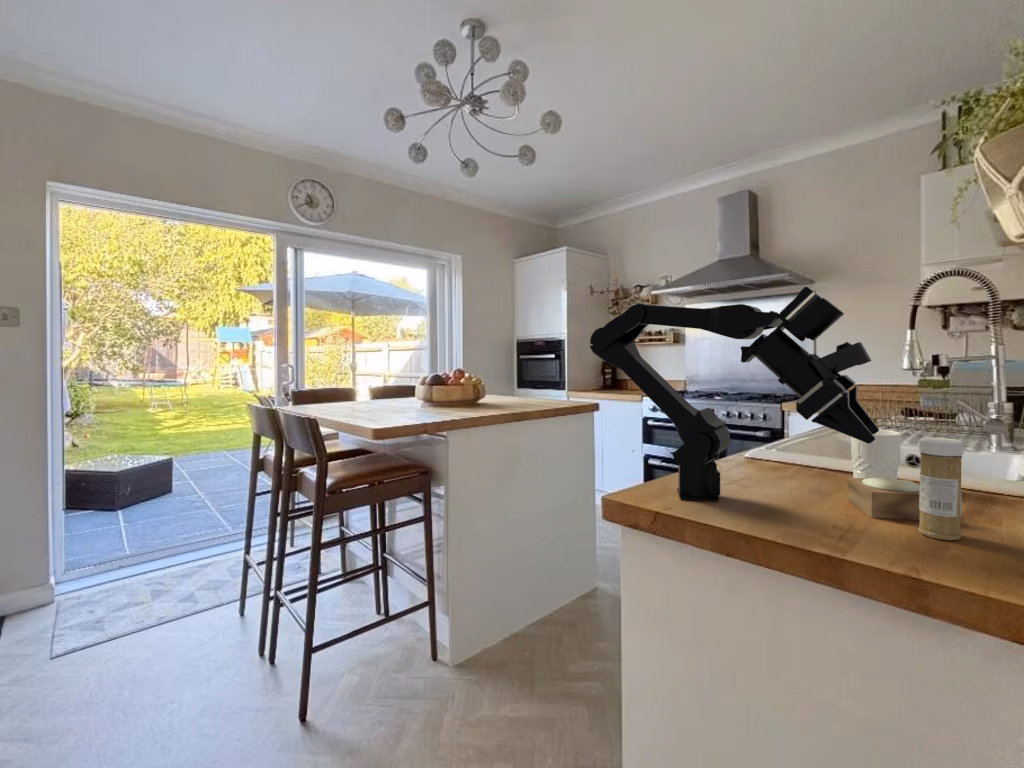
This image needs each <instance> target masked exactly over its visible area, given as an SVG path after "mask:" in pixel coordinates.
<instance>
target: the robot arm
mask: <svg viewBox="0 0 1024 768" xmlns="http://www.w3.org/2000/svg"><path fill="white" fill-rule="evenodd" d="M844 315H845V313H844V312H843V311H842V310H841V309H839V308H838V307H837V306H836V305H835V304H833V303H832V302H831V301H829V300H828V299H826V298H824V297H821V295H819V294H818V293H817V292H815V291H814V290H812V289H811V288H810V287H808V286H803V288H802V289H801V290H800V291H799V292H798V293H797V295H796V296H795V297H794V299H792V300H791V301H790V302H789V303H787V305H786V306H785V307H784V308H783V309H782V310H781V311H780V312H777V311H774V310H770V311H769V312H768V311H767V312H766V311H762V309H761V308H758V307H757V306H752V305H750V304H749V305H748V304H743V303H738V304H728V305H720V306H714V307H706V308H697V307H684V306H683V307H682V306H669V305H668V306H667V305H655V304H654V305H653V304H647V303H642V302H637V303H633V304H632V305H630V306H629V307H628V308H627V309H626V310H625V311H624V312H623V313H621V314H619V315H617V316H616V317H615V318H613V319H612V320H610V321H608V322H607V323H606V324H605V325H604V326H603V327H599V328H597V329H595V330H594V331H593V332H592V334H591V335H590V340H589V348H590V350H591V352H592V353H593V354H594V355H595V356H597V357H598V358H599V359H601V360H602V361H604V362H605V363H608V364H609V365H611V366H613V367H615V368H617V369H619V370H620V371H621V372H623V373H624V374H625V375H626V376H627V377H628V379H630V380H631V381H632V383H634V384H635V385H636V386H637V387H638V388H639V389H640V390H641V391H642V393H644V394H645V396H647V397H648V398H649V400H650V401H651V402H653V403H654V405H655V406H656V407H658V409H659V410H661V412H663V414H665V416H666V417H667V418H668V419H669V420H671V422H672V424H673V425H674V427H675V429H676V432H677V434H678V437H679V439H680V440H681V441H682V445H681V446H679V448H677V449H676V450H674V452H673V453H672V457H673V459H674V462H675V465H676V466H677V467H678V471H677V472H678V481H677V482H678V487H677V488H676V489H677V490H676V491H677V495H678V497H679V500H682V501H683V500H686V501H704V502H705V501H706V502H719V501H720V498H719V496H721V473H720V471H719V469H718V468H717V467H718V466H717V465H718V464H717V462H715V461H717V460H718V459H719V456H720V454H721V452H724V451H725V450H726V449H727V448H728V447H729V445H730V443H731V433H730V430H728V428H727V426H725V425H727V421H725V420H722V419H720V418H719V417H718V416H717V414H716V413H715V411H714V410H713V409H712V408H710V407H706V408H703V409H697V408H696V407H695V406H692V405H691V404H690V403H689V401H687V400H686V398H684V397H683V395H681V394H680V393H679V392H678V391H677V390H676V389H675V388H674V387H673V386H672V385H671V384H670V383H669V382H668V381H667V380H666V379H665V378H664V377H663V376H661V374H659V372H657V371H656V370H655V369H654V368H653V367H652V366H651V364H649V363H648V361H646V360H645V359H644V357H642V356H641V354H640V352H639V350H638V347H637V345H636V342H635V340H636V339H638V338H639V336H640V335H641V334H642V333H643V331H644V330H645V329H646V327H648V326H649V325H655V326H666V327H677V328H687V329H697V330H698V329H699V330H702V331H706V332H710V333H713V334H715V335H716V334H717V335H720V336H723V337H727V338H730V339H734V340H753V339H755V340H754V341H753V342H752V343H751V344H750V345H749V346H744V345H743V346H740V350H741V351H740V352H741V357H740V362H741V363H743V364H744V363H749V362H751V361H752V360H754V359H755V358H756V359H757V360H758V361H760V363H761V364H762V365H763V366H764V367H766V368H767V370H769V371H770V372H772V373H773V374H774V375H775V376H776V377H777V378H778V379H777V382H778V383H780V384H781V385H786V386H787V387H788V388H789V389H790V390H791V391H792V392H793V393H795V394H796V395H797V396H798V397H799V398H798V400H797V401H795V403H796V405H795V406H796V407H795V409H796V410H795V411H796V412H797V413H798V414H799V415H800V416H801V417H802V418H803V419H804V420H805V421H808V420H809V419H810V418H812V417H813V415H815V414H816V413H817V415H815V416H814V418H812V419H811V420H810V422H812V423H814V424H817V425H821V426H823V427H825V428H829V429H831V430H833V431H836V432H838V433H841V434H844V435H846V436H848V437H850V438H851V437H853V438H856V439H858V440H861V441H863V442H865V443H868V444H869V443H871V442H873V441H874V440H875V437H874V436H873V435H872V434H875V433H877V432H878V431H879V429H880V428H879V427H878V426H877V425H876V424H875V422H874V421H873V420H872V418H871V417H870V415H869V414H868V413H867V411H866V410H865V409H864V407H863V406H862V405H861V403H860V402H859V401H858V385H855V384H856V381H854V380H853V379H851V377H850V376H848V375H847V374H840V373H841V372H843V371H845V370H847V369H850V368H854V367H856V366H861V365H864V364H867V363H870V362H872V359H871V357H870V355H869V353H868V351H867V350H866V348H865V347H864V345H863V343H862V342H860V341H858V342H855V343H854V344H852V343H850V342H848V341H845V342H844V343H841V344H838V345H836V346H835V347H836V348H835V349H836V350H835V351H834V352H832V353H829V354H827V355H825V356H824V355H823V356H821V357H820V356H819V355H818V354H816V353H809V352H808V351H807V350H806V349H805V348H803V346H801V345H800V344H799V343H798V342H796V341H795V339H793V338H792V337H790V336H789V335H788V334H787V333H786V332H784V331H785V330H786V331H787V332H789V333H790V334H791V335H793V337H795V338H796V339H798V340H799V341H801V342H804V341H806V339H807V340H811V341H813V342H814V341H816V340H817V339H818V338H819V337H820V336H821V335H822V334H824V333H825V332H826V331H827V330H828V329H830V328H831V326H833V325H834V324H835V323H836V322H837V321H838V320H840V319H841V318H842V317H843V316H844ZM771 329H774V330H773V331H772V332H770V333H769V334H768V335H766V334H764V333H763V332H764V331H766V330H771ZM854 385H855V386H854ZM852 386H854V387H853V388H852ZM850 388H851V389H850ZM849 389H850V390H849Z"/></svg>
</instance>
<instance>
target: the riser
mask: <svg viewBox="0 0 1024 768" xmlns="http://www.w3.org/2000/svg"><path fill="white" fill-rule="evenodd" d="M846 496H847V502H849V503H850V504H852V505H853V506H854V507H855V508H857V509H859V510H860V511H862V513H864V514H866V515H867V516H868V517H870V518H871V519H872V518H875V519H891V520H909V521H911V520H912V521H920V509H919V497H920V483H917V482H915V481H913V480H910V479H898V478H897V479H888V478H853V477H847V495H846Z"/></svg>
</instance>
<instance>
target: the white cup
mask: <svg viewBox="0 0 1024 768" xmlns="http://www.w3.org/2000/svg"><path fill="white" fill-rule="evenodd" d="M878 429H879V431H878V432H877V433H875V434H872V435H873V436H874V437H875V440H874V441H873V442H871V443H869V444H868V443H865V442H863V441H861V440H858V439H856V438H853V437H851V436H850V446H851V447H850V450H851V451H850V453H851V454H850V455H851V463H852V464H851V466H852V467H851V468H852V470H853V471H852V472H853V473H852V474H853V477H852V478H888V479H898V472H899V467H900V466H899V465H900V457H901V444H902V433H901V432H900V431H895V430H888V429H880V428H878Z"/></svg>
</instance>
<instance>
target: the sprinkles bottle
mask: <svg viewBox="0 0 1024 768" xmlns="http://www.w3.org/2000/svg"><path fill="white" fill-rule="evenodd" d="M918 443H919V444H918V451H919V452H920V453H919V455H920V472H919V485H920V497H919V509H920V520H919V525H918V529H917V530H918V532H919V533H920V534H921V535H924V536H925V537H929V538H932V539H936V540H943V541H956V540H957V541H958V540H960V539H961V538H962V534H961V516H962V505H963V504H962V495H963V493H962V459H963V455H964V453H965V452H964V451H965V450H964V448H965V447H964V442H963V441H962V440H960V439H956V438H947V437H946V438H945V437H922V438H920V439H919V442H918Z"/></svg>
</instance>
